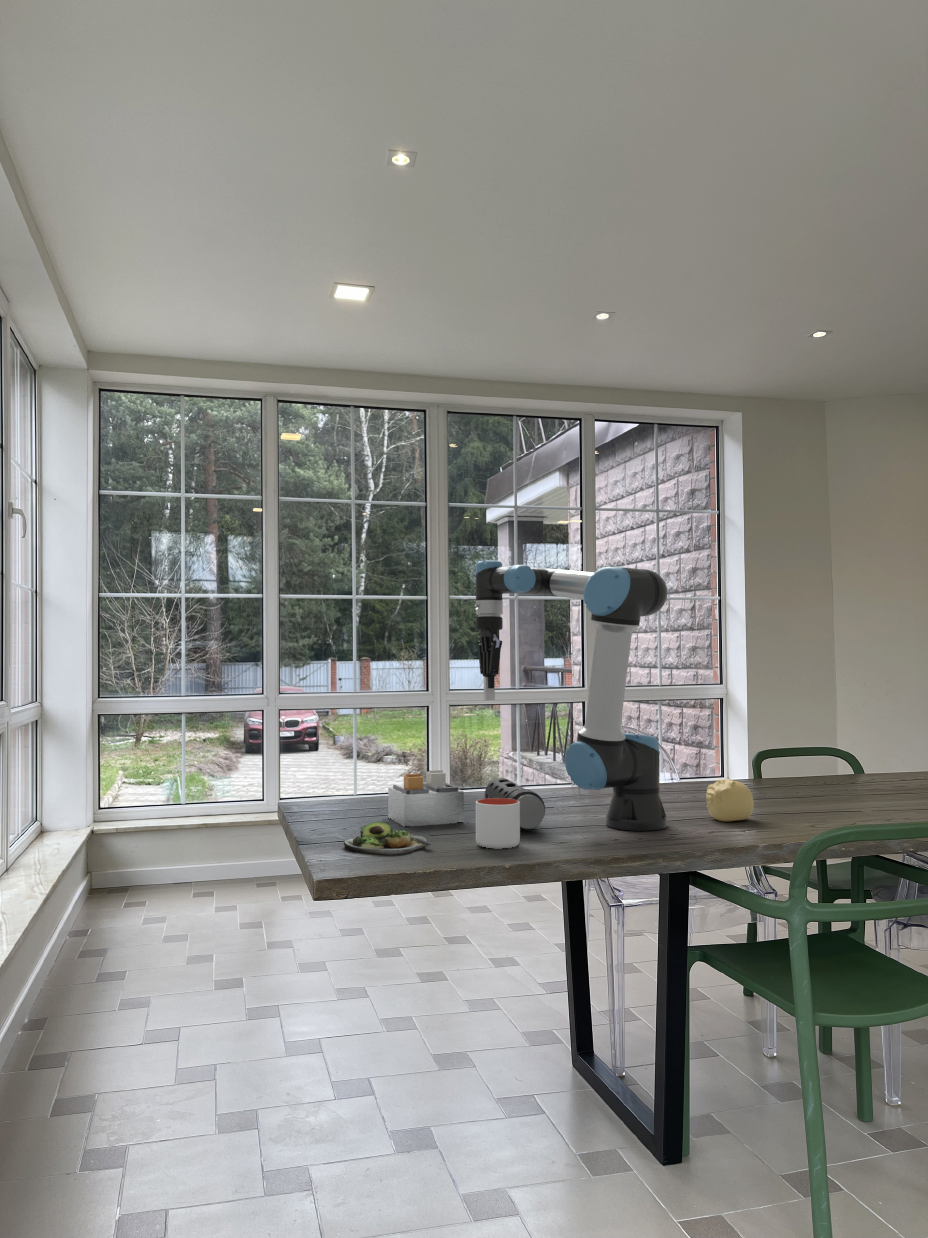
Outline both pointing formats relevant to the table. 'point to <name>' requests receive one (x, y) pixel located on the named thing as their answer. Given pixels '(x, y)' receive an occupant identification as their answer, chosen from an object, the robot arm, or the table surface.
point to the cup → (497, 823)
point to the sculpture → (729, 800)
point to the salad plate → (384, 840)
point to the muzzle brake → (529, 801)
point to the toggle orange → (413, 781)
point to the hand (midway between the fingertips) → (489, 700)
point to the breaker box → (426, 805)
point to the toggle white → (436, 778)
